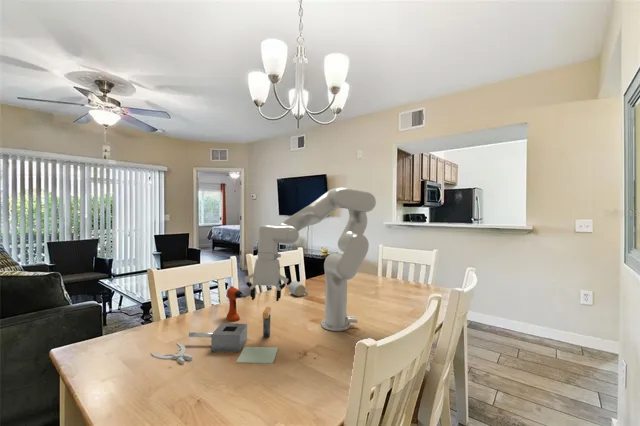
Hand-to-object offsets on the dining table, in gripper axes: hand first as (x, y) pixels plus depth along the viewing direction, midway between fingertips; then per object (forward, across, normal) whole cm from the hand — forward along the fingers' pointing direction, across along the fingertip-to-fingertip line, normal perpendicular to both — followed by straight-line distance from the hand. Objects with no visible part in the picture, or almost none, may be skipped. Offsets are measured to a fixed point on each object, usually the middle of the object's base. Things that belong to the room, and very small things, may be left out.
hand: (265, 299), depth 113 cm
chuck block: (+15, +16, +8) cm, 23 cm away
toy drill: (+15, +15, -14) cm, 26 cm away
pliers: (+16, +27, +16) cm, 35 cm away
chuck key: (+15, -1, 0) cm, 15 cm away
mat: (+15, -1, +15) cm, 21 cm away
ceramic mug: (+14, -9, -57) cm, 59 cm away
